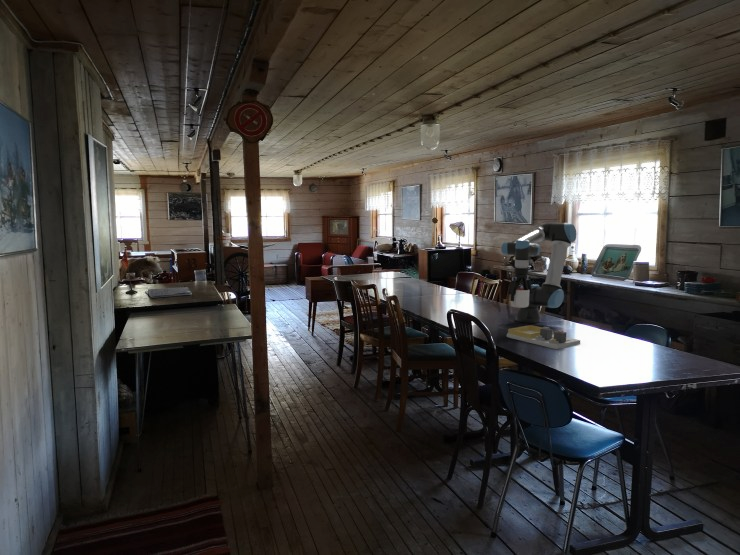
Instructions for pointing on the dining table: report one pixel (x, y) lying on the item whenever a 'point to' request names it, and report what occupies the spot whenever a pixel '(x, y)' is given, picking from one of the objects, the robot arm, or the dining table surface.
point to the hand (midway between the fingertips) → (519, 306)
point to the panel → (546, 342)
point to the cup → (522, 298)
